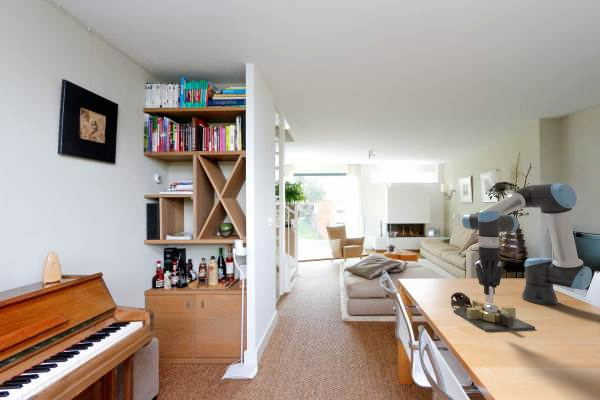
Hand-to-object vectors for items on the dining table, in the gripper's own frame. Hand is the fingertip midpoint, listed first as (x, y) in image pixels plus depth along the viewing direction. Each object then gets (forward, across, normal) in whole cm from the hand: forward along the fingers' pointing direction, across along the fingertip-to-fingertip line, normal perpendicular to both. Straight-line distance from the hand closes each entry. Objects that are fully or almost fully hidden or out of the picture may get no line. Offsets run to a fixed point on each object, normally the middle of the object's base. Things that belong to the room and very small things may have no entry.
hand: (489, 302), depth 123 cm
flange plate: (+11, +7, +9) cm, 16 cm away
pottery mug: (+11, +5, +27) cm, 30 cm away
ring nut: (+10, +7, +9) cm, 15 cm away
